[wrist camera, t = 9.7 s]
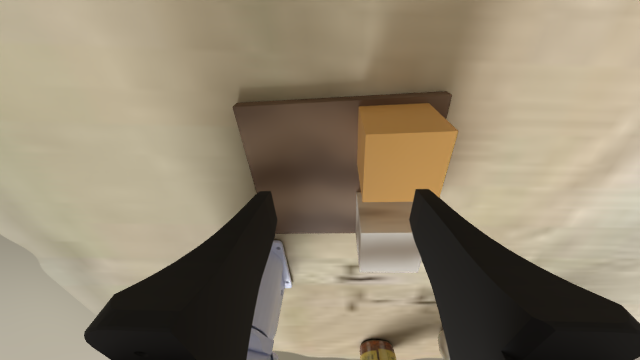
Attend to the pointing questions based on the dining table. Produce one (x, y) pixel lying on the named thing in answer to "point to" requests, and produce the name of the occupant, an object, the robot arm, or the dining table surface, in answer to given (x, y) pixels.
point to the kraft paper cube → (402, 151)
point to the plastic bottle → (443, 346)
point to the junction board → (328, 173)
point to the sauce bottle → (377, 350)
